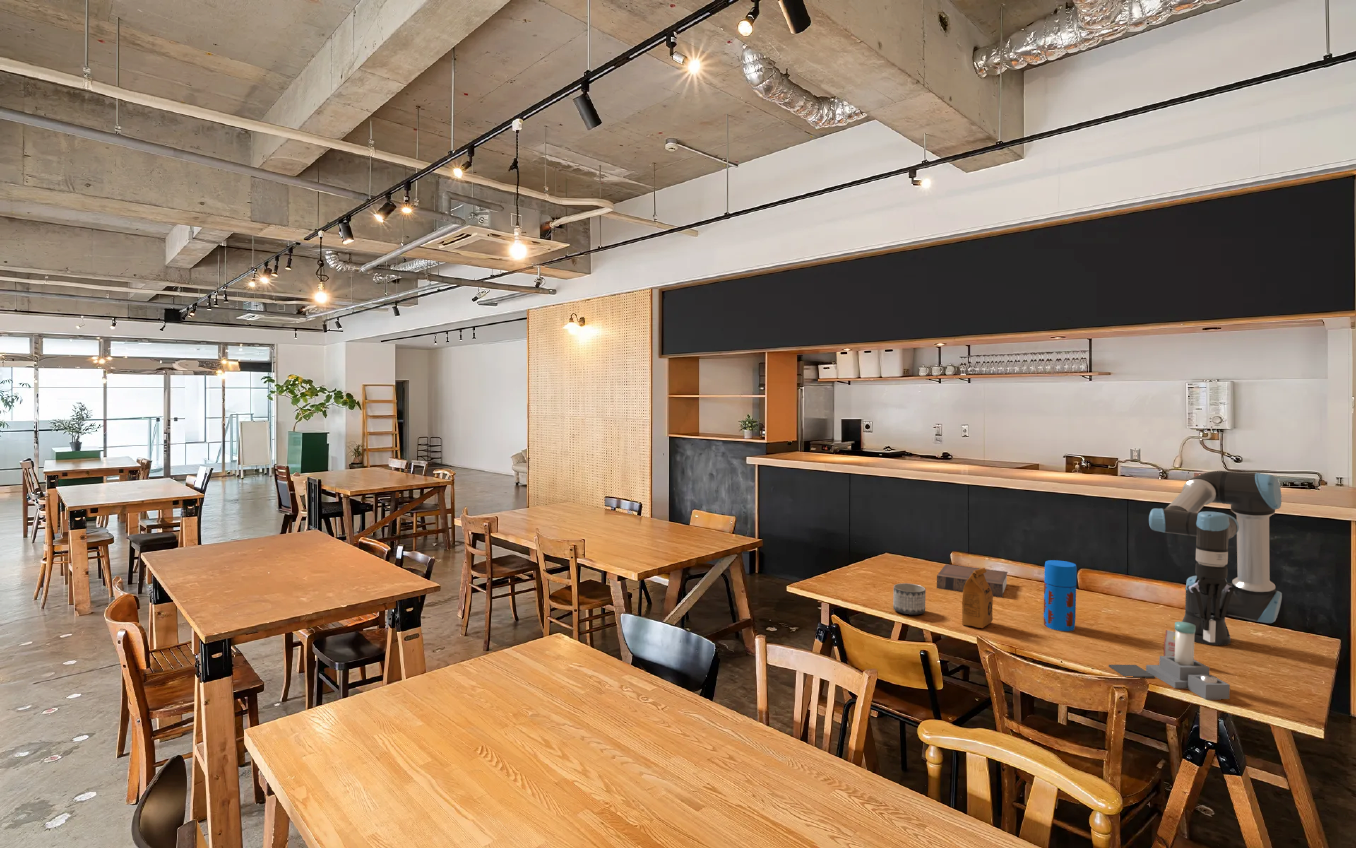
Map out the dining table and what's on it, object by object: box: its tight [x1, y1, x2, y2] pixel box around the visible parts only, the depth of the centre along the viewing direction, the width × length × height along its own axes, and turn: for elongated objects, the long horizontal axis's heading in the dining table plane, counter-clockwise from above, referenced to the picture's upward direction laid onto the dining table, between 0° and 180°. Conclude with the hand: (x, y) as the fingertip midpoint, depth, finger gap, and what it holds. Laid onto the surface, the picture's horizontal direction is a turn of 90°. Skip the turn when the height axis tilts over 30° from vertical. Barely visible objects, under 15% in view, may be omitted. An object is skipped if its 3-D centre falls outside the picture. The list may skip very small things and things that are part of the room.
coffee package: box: [961, 567, 994, 629], centre depth 262 cm, size 10×12×22 cm
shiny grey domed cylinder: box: [1200, 673, 1218, 683], centre depth 200 cm, size 4×4×5 cm
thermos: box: [1043, 559, 1078, 632], centre depth 259 cm, size 11×11×25 cm
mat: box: [1108, 664, 1156, 679], centre depth 217 cm, size 9×9×1 cm
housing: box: [1145, 655, 1231, 700], centre depth 207 cm, size 20×14×6 cm
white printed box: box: [1163, 629, 1175, 656], centre depth 225 cm, size 4×7×10 cm, turn 39°
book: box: [936, 563, 1009, 598], centre depth 315 cm, size 24×28×6 cm
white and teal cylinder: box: [1174, 621, 1196, 666], centre depth 210 cm, size 5×5×16 cm
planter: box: [892, 582, 927, 616], centre depth 277 cm, size 13×13×10 cm
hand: (1209, 640), depth 200 cm, fingers closed
